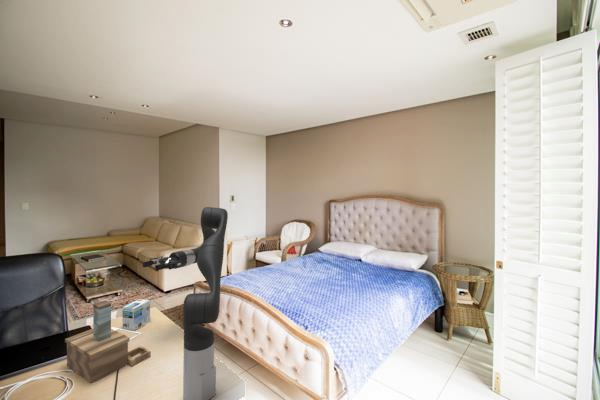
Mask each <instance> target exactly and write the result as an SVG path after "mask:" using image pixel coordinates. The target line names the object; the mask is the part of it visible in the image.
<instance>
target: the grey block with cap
mask: <svg viewBox="0 0 600 400" xmlns="http://www.w3.org/2000/svg"><path fill="white" fill-rule="evenodd" d="M92 306H93V307H92V308H93V311H92V312H93V314H92V315H93V318H92V319H93V321H92V322H93V324H92V325H93V326H92V329H93V339H94V340H96V341H98V342H100V341H102V340H105V339H107V338H110V337H111V327H112V302H110V301H108V300H102V301H98V302H96V303H93V304H92Z"/></svg>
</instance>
